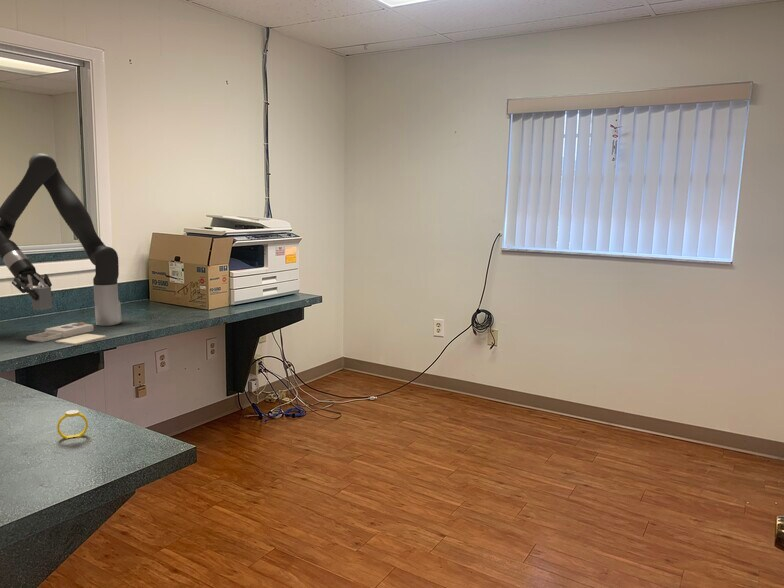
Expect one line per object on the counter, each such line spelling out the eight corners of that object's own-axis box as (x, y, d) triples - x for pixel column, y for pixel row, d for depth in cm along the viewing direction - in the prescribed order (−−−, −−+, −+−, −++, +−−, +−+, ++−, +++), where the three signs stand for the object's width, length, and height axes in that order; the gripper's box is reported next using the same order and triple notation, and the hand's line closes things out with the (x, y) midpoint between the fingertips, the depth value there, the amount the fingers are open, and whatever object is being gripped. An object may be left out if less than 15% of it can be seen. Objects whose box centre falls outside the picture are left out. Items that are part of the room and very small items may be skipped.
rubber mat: (86, 335, 234) (86, 333, 234) (106, 337, 231) (106, 335, 231) (55, 342, 221) (55, 340, 221) (75, 345, 218) (75, 343, 218)
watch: (87, 434, 136) (87, 408, 135) (87, 438, 133) (88, 412, 133) (57, 436, 133) (57, 410, 132) (57, 441, 131) (57, 414, 130)
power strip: (75, 328, 246) (74, 321, 245) (93, 330, 242) (93, 323, 242) (25, 339, 225) (24, 331, 225) (44, 342, 222) (43, 334, 221)
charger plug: (44, 307, 229) (43, 286, 227) (52, 308, 227) (50, 287, 226) (32, 309, 224) (31, 288, 223) (40, 310, 223) (38, 289, 221)
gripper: (5, 259, 219) (31, 294, 217) (40, 256, 232) (65, 289, 230) (-4, 273, 222) (22, 307, 219) (31, 269, 235) (56, 301, 232)
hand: (44, 298), depth 225 cm, fingers closed on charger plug, 5 cm apart
